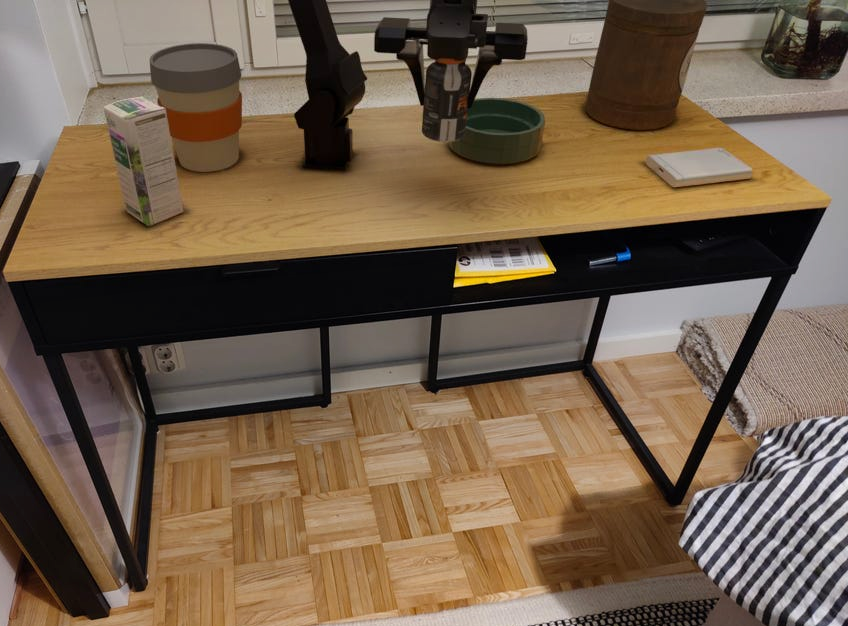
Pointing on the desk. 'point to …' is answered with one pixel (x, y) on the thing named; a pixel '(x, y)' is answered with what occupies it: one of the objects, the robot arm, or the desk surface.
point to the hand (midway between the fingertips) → (445, 106)
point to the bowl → (501, 131)
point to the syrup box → (144, 159)
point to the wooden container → (643, 61)
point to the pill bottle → (446, 100)
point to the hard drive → (698, 167)
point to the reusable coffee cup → (200, 102)
